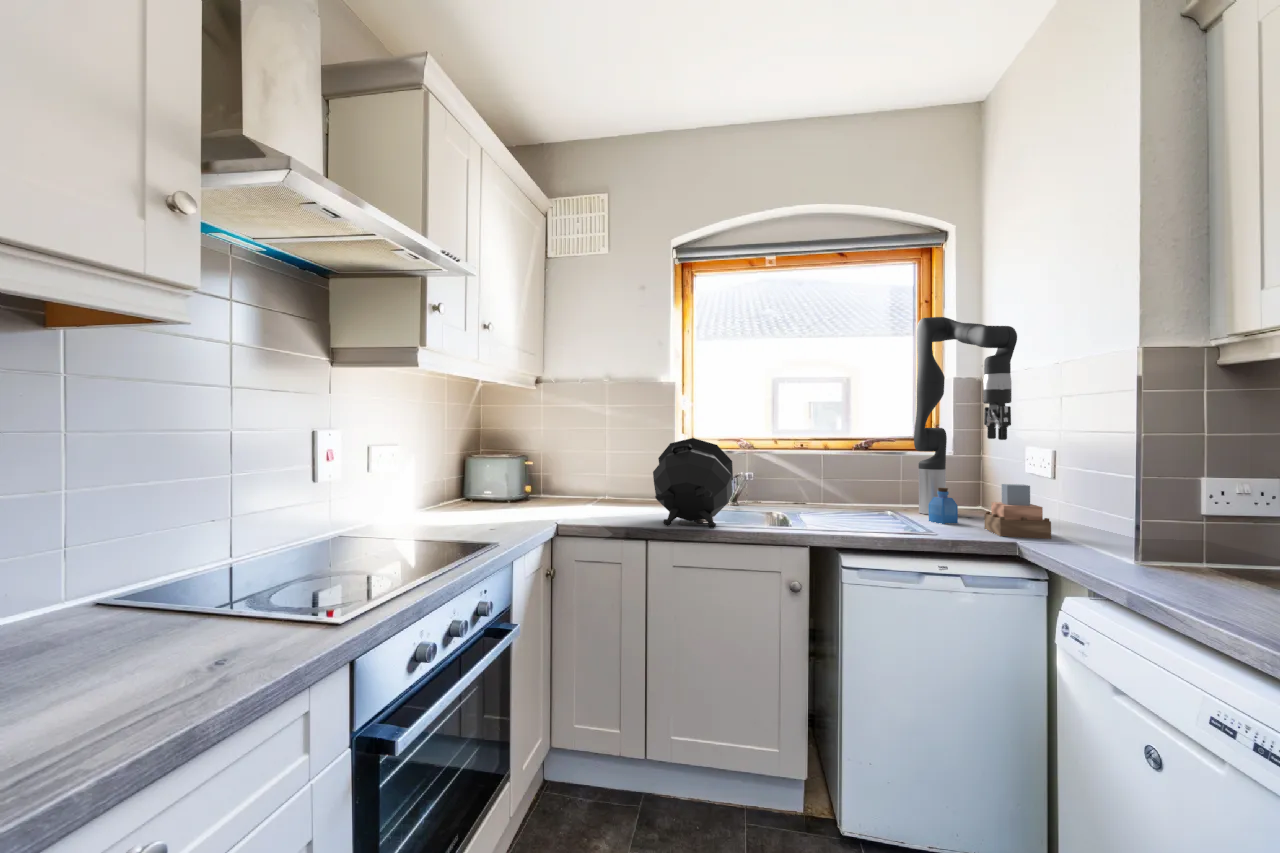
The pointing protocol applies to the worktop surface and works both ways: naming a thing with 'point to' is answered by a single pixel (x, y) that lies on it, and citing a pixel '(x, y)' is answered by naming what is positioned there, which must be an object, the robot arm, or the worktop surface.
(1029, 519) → the brown studded stepped block
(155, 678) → the worktop surface
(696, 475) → the cauldron
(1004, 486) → the grey brick
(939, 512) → the perfume bottle
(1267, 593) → the worktop surface
